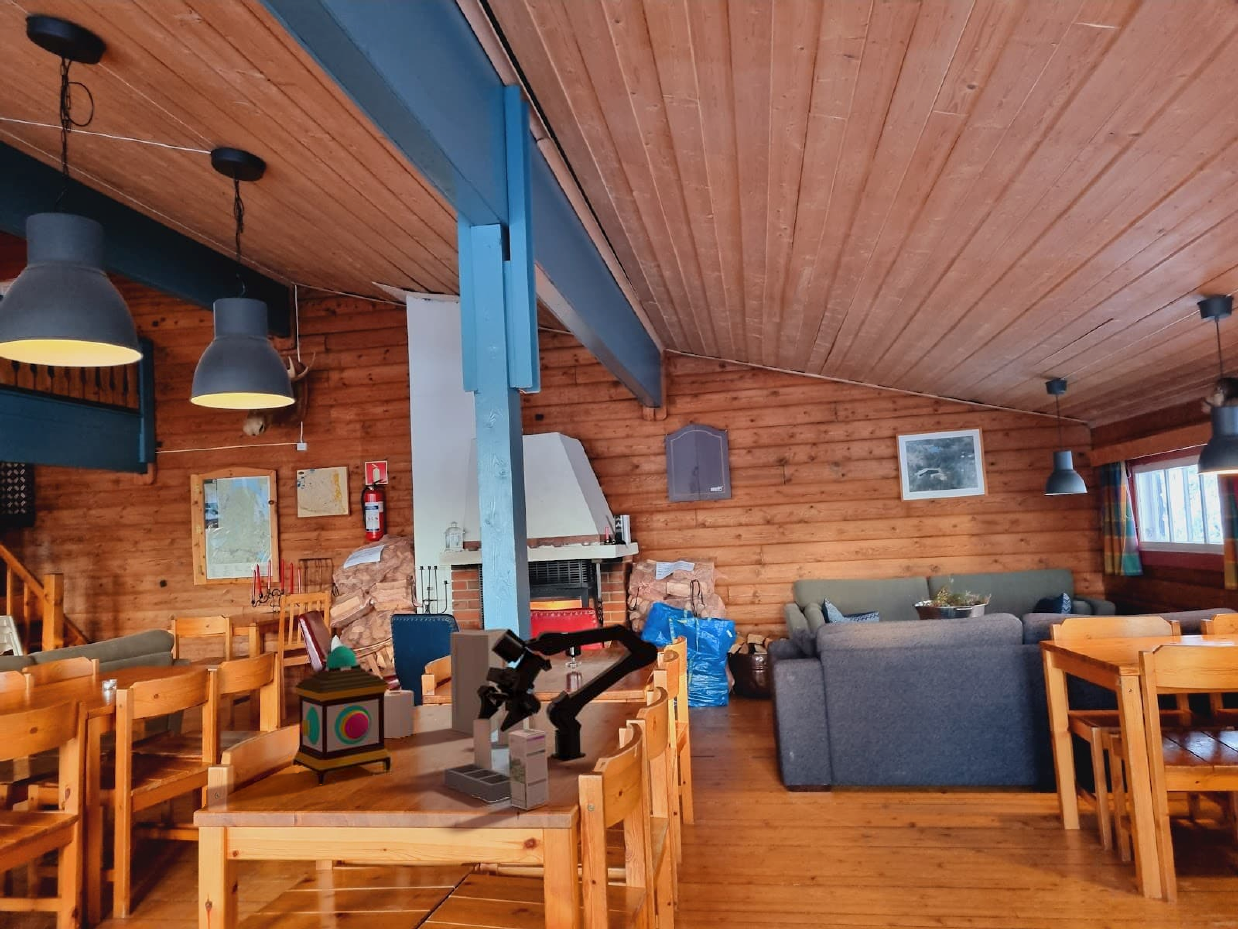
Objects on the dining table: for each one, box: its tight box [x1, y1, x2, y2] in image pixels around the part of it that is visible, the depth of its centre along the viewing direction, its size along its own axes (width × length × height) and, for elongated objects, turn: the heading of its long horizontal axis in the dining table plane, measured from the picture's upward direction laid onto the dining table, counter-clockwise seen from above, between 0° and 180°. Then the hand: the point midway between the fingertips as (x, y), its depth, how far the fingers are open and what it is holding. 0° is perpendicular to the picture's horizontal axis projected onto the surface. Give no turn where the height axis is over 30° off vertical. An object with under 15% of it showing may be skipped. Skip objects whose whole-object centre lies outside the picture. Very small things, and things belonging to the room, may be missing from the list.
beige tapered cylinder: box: [473, 719, 493, 770], centre depth 197 cm, size 4×4×12 cm
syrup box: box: [508, 728, 550, 808], centre depth 169 cm, size 6×6×14 cm
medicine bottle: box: [497, 702, 530, 746], centre depth 229 cm, size 7×7×12 cm
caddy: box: [444, 763, 510, 801], centre depth 181 cm, size 20×7×4 cm, turn 40°
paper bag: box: [449, 628, 510, 736], centre depth 251 cm, size 19×15×28 cm
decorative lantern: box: [292, 645, 392, 785], centre depth 204 cm, size 20×20×30 cm
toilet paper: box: [384, 689, 415, 738], centre depth 244 cm, size 10×10×12 cm
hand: (489, 728), depth 199 cm, fingers open, 9 cm apart
